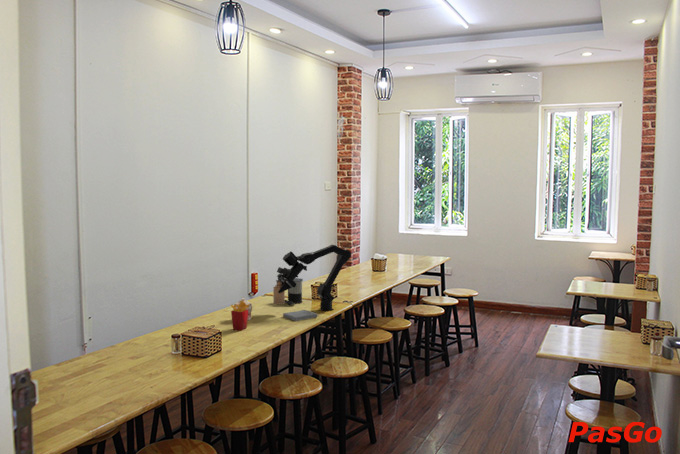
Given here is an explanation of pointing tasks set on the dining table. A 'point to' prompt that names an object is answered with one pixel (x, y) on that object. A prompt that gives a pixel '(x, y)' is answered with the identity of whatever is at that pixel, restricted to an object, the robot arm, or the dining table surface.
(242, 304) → the french fries
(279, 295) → the sauce bottle
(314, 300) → the dining table surface
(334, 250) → the robot arm
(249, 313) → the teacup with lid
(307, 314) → the serving board
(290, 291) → the milk frother
